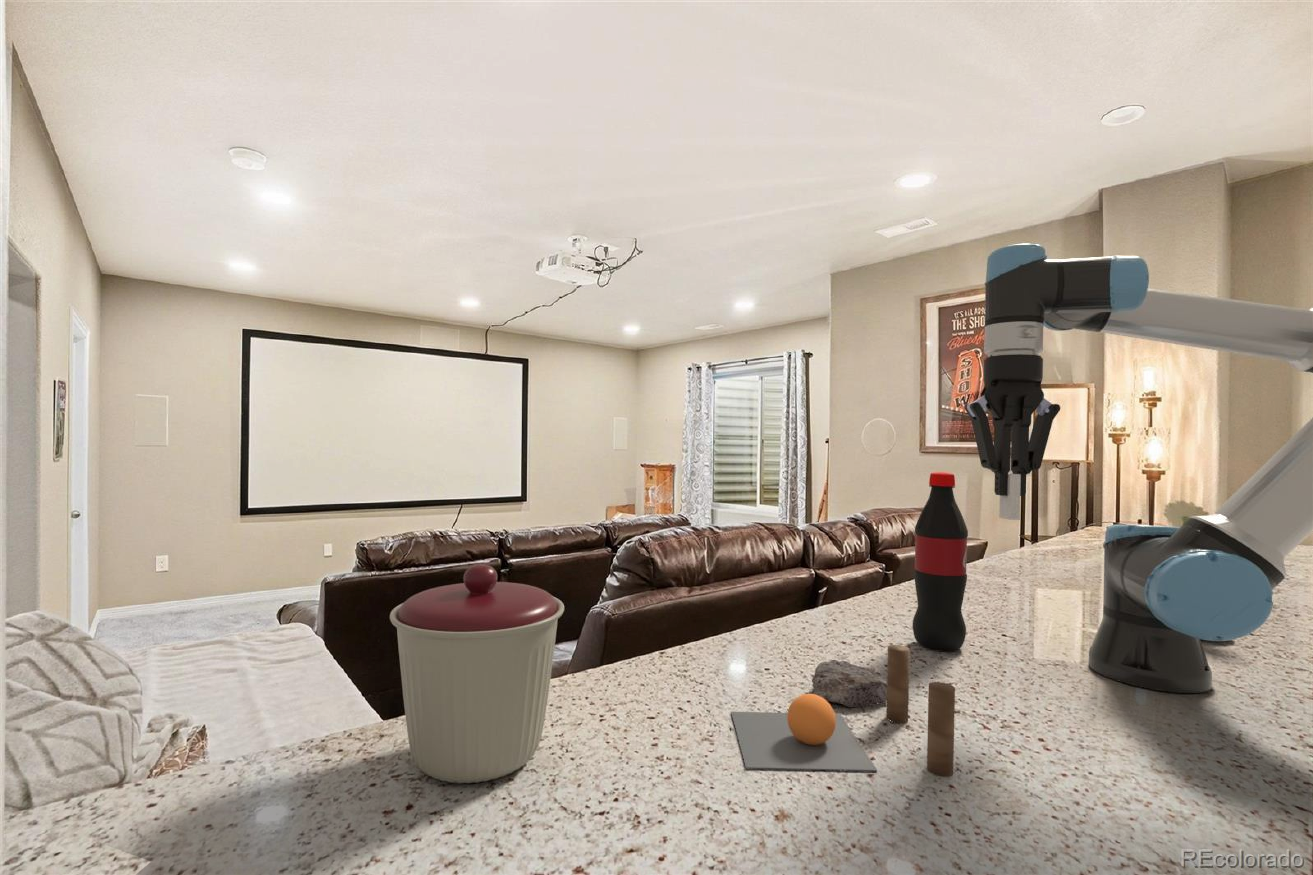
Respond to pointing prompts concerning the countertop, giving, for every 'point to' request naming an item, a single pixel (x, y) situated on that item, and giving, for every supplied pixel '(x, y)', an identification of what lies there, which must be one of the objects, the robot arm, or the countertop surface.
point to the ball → (811, 719)
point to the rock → (849, 684)
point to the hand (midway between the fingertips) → (1009, 518)
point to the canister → (476, 674)
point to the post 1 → (898, 683)
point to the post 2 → (940, 728)
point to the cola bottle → (940, 568)
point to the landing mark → (796, 745)
